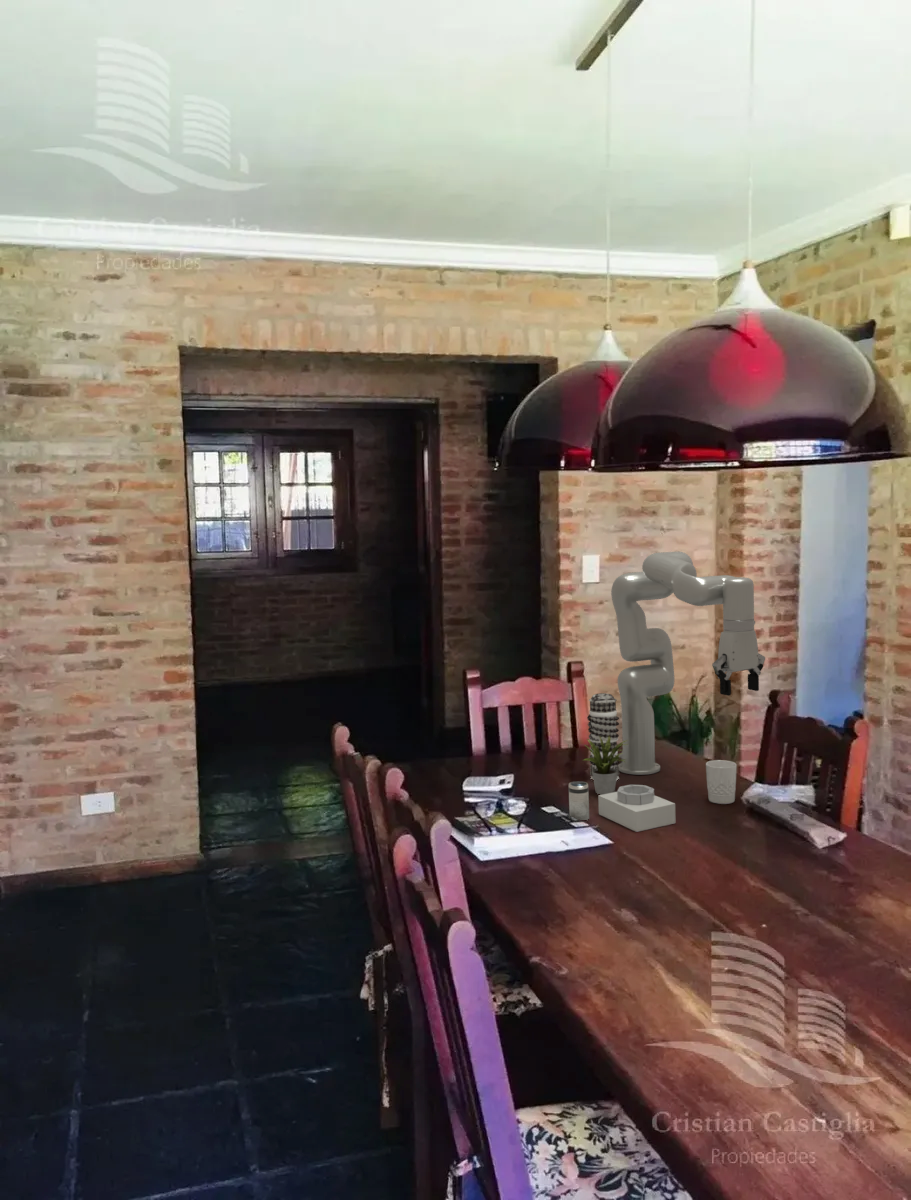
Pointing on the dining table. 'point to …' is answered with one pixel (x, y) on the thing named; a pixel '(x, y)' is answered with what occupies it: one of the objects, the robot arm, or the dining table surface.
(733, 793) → the white cup
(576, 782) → the lens
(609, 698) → the decorative candle
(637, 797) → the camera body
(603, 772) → the house plant
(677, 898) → the dining table surface
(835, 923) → the dining table surface
